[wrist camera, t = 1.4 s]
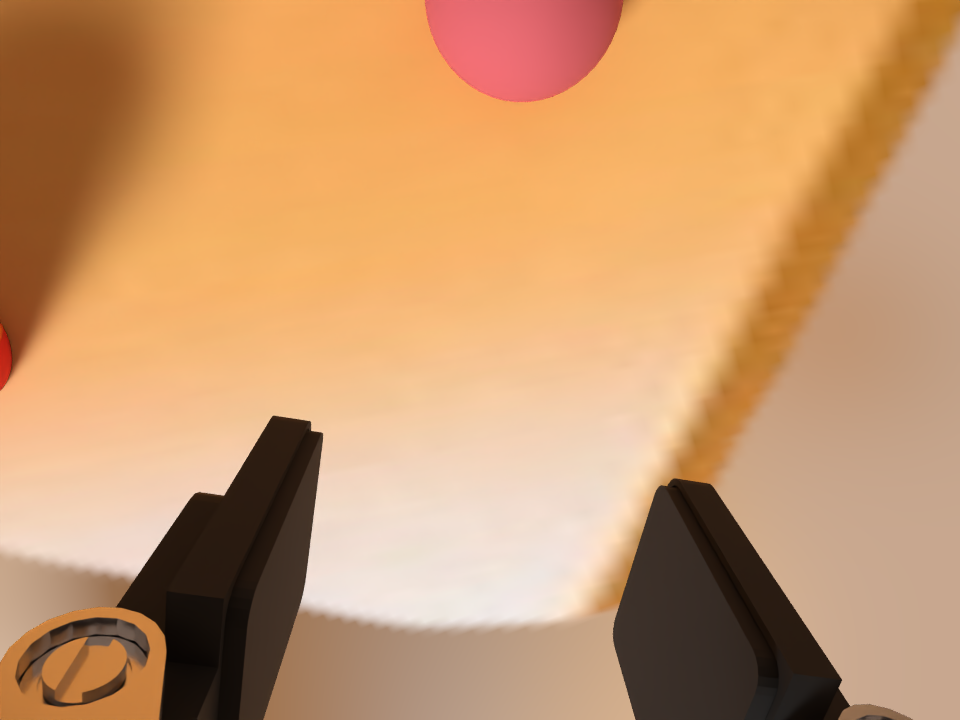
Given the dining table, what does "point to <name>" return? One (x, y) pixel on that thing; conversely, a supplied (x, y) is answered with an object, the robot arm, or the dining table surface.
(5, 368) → the paper cup
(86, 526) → the dining table surface
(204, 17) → the dining table surface
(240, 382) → the dining table surface
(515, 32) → the ball
